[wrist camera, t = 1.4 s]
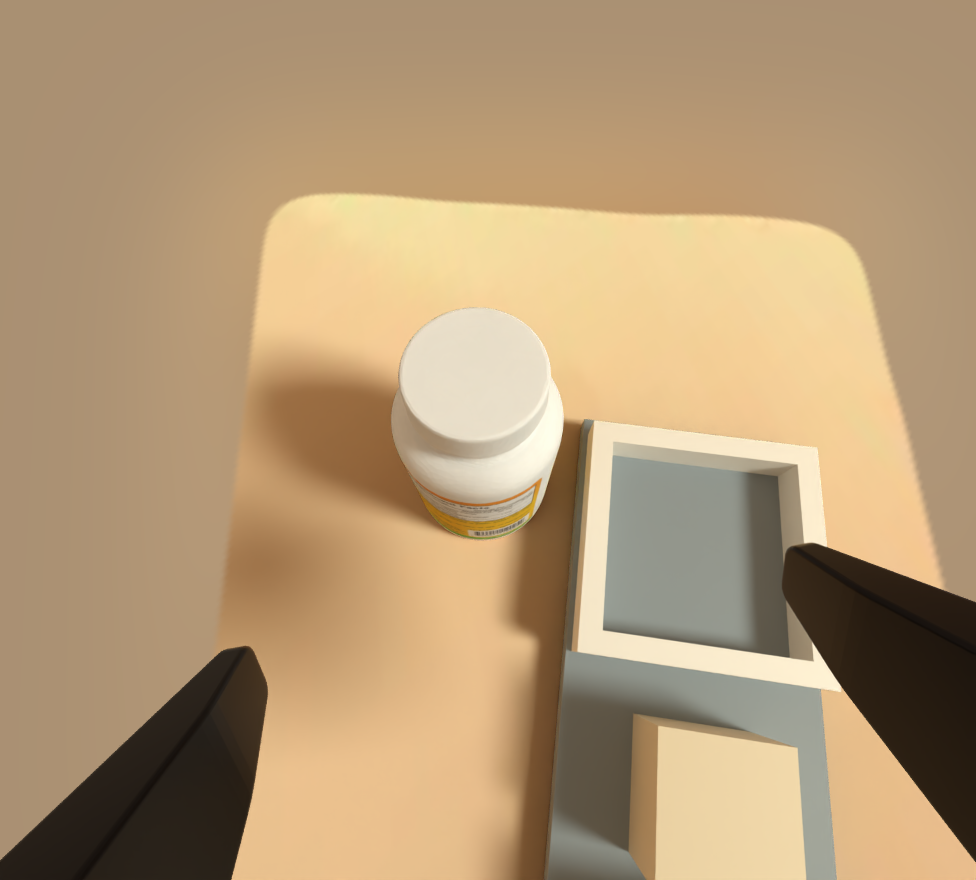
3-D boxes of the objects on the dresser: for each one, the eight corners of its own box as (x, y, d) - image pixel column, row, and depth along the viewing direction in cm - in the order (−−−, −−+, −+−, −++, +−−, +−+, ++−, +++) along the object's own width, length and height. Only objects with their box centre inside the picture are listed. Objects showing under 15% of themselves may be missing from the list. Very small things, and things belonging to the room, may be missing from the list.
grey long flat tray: (841, 1179, 15) (959, 1360, 11) (524, 1112, 15) (533, 1263, 12) (787, 453, 23) (845, 415, 19) (580, 428, 23) (597, 386, 19)
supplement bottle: (466, 402, 24) (448, 253, 15) (568, 462, 23) (616, 341, 14) (395, 498, 22) (326, 397, 13) (501, 568, 21) (505, 511, 12)
